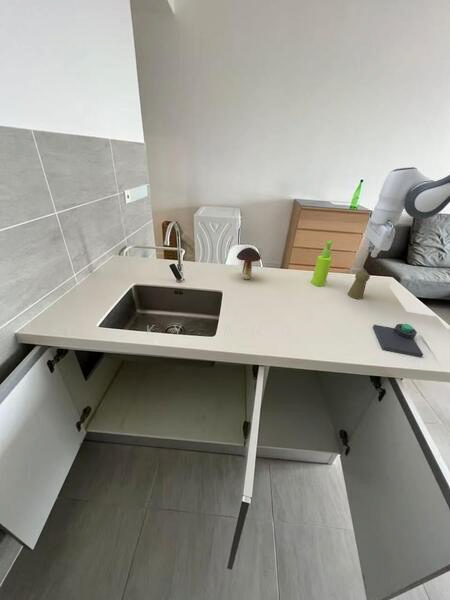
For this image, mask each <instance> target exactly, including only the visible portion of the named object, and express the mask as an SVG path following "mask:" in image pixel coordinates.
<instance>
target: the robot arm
mask: <svg viewBox="0 0 450 600" xmlns="http://www.w3.org/2000/svg"><path fill="white" fill-rule="evenodd" d="M381 186H382V187H381V189H380V192H379V194H378V200H377V203H376V204H375V206H374V208H373V210H371V211H370V212H369V214H368V218H369V219H368V221H367V225H366V228H365V236H366V237H367V238H368V241H367V248H366V252H368V253H370V256H371V258H377V257H378V254H379V253H380V252H381V251H385V252H386V251H387V252H388V251H389V250H390V248H391V246H392V244H393V241H394V238H395V235H396V229H395V227H394V226H397V225H398V223H399V221H400V219H401V216H402V214H403V212H404V211H405V213H406V214H407V215H408V216H410V217H411V218H413V219H416V220H417V219H418V220H424V219H429V218H432V217H435V216H436V215H438V214H439V213H441V212H442V211H443V210H444V209H445V208H446V207H447V205H449V204H450V174H448V175H447V176H445V177H443V178H441V179H438V180H433V179H431V178H429V177H428V176H426V175H424V173H422V172H421V171H419V169H418V168H417V167H414V166H413V167H400V168H395V169H393V170H391V171H390V172H389V173H388V174H387V176H386V177H385V180H384V181H383V184H382V185H381Z"/></svg>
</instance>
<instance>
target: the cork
mask: <svg viewBox="0 0 450 600" xmlns="http://www.w3.org/2000/svg"><path fill="white" fill-rule="evenodd" d="M370 277H371V276H370V274H369V273H368V272H366V271H363V270H361V271H357V272H356V273H355V278H354V279H355V280H354V281H353V283H352V285H351V287H350V288H349V291H348V292H347V296H348V297H349V298H351V299H355V300H363V298H364V295H365V294H364V293H365V290H366V285H367V282H368V281H369V280H370Z"/></svg>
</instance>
